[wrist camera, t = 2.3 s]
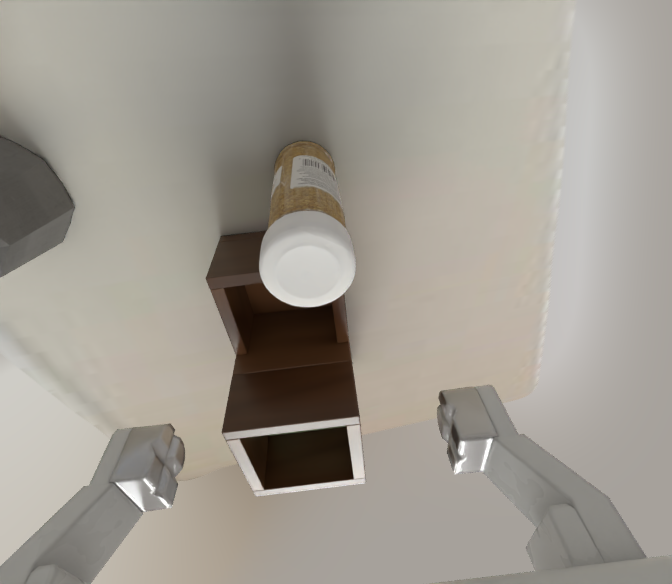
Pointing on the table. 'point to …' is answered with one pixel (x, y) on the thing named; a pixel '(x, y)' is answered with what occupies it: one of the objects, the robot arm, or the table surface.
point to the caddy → (285, 380)
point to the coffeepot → (29, 207)
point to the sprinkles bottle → (306, 230)
